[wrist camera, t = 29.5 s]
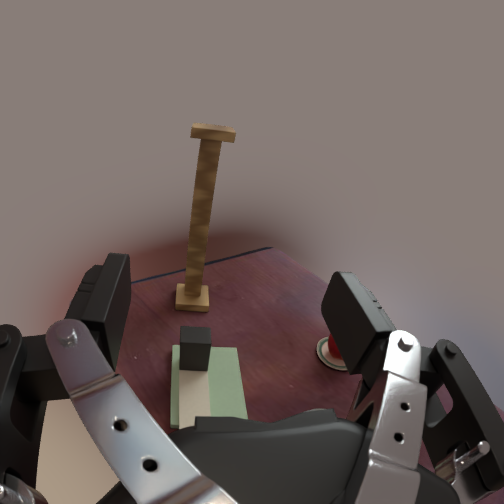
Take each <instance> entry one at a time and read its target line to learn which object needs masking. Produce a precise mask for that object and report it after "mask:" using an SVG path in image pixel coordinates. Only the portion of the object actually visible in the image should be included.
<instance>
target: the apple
mask: <svg viewBox="0 0 504 504" xmlns="http://www.w3.org/2000/svg"><path fill="white" fill-rule="evenodd" d="M317 353H318V356H319V358H320V359H321V360H322V361H323V362H324V363H325V364H326V365H328V366H329V367H331V368H334V369H337V370H347V368H346V366H345V363H344V361H343V359H342V357H341V354H340V352H339V350H338V348H337V346H336V344H335V341H334V339H333V337H332V335H331V334H330V336H329V337H326V338H323V339H322V340H320V341H319V343H318V345H317Z"/></svg>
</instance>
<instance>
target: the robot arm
mask: <svg viewBox="0 0 504 504" xmlns="http://www.w3.org/2000/svg"><path fill="white" fill-rule="evenodd" d="M130 301H131V278H130V257H129V255H128V254H119V253H109V254H108V256H107V258H106V260H105V263H104V265H103V266H102V265H94V266H93V267H92V268H91V269H90V270H88V271H87V272H86V273H85V275H84V277H83V279H82V281H81V284H80V285H79V288H78V291H77V292H76V294H75V296H74V298H73V300H72V302H71V305H70V307H69V309H68V311H67V314H66V316H65V318H64V319H63V320H60V321H57V322H56V323H54V324H53V325H51V326H50V328H49V329H48V331H47V332H46V334H44V335H38V336H27V337H22V335H21V333H20V331H19V329H18V328H16V327H15V326H13V325H8V324H4V325H0V504H48V502H47V500H46V499H45V498H44V496H43V495H42V494H41V493H40V492H38V491H37V490H36V476H37V464H38V456H39V447H40V441H41V434H42V427H43V421H44V416H45V410H46V406H47V401H49V400H61V399H71V401H72V403H73V405H74V407H75V409H76V411H77V413H78V415H79V417H80V418H81V420H82V422H83V424H84V426H85V427H86V429H87V431H88V432H89V434H90V436H91V437H92V439H93V441H94V442H95V444H96V446H97V447H98V449H99V450H100V452H101V453H102V455H103V456H104V458H105V460H106V461H107V463H108V464H109V466H110V467H111V468H112V470H113V471H114V473H115V474H116V475H117V477H118V478H119V480H120V481H119V482H118V483H117V484H116V485H115V486H114V487H113V488H112V489H111V490H110V491H109V492H108V493H107V494H106V495H105V496H104V497H103V498H102V499H101V500H100V501H99V502H97V503H96V504H474V503H476V502H478V501H480V500H482V499H484V498H486V497H487V496H489V495H491V494H493V493H494V492H496V491H498V490H499V489H501V488H502V487H504V423H503V421H502V419H501V417H500V415H499V413H498V411H497V410H496V408H495V406H494V404H493V402H492V401H491V399H490V397H489V395H488V394H487V392H486V390H485V389H484V387H483V385H482V383H481V382H480V380H479V379H478V377H477V375H476V374H475V372H474V370H473V369H472V367H471V366H470V364H469V363H468V361H467V359H466V358H465V356H464V355H463V353H462V352H461V350H460V349H459V348H458V347H457V346H456V345H455V344H454V343H453V342H451V341H449V340H445V339H441V340H439V341H438V342H437V343H436V345H435V346H434V348H427V347H421V345H420V343H419V341H418V340H417V339H416V338H415V337H414V336H413V335H411V334H410V333H408V332H405V331H401V330H397V329H396V328H395V326H394V325H393V323H392V322H391V320H390V319H389V317H388V316H387V314H386V313H385V311H384V310H383V309H382V307H381V305H380V304H379V302H377V300H376V298H375V297H374V295H373V294H372V292H371V291H369V290H368V289H367V288H366V287H365V286H363V285H362V284H361V283H360V281H359V280H358V278H357V277H356V276H355V274H354V273H352V272H335V273H334V274H333V275H332V278H331V280H330V283H329V285H328V288H327V290H326V293H325V295H324V298H323V301H322V305H321V311H322V315H323V318H324V320H325V322H326V324H327V326H328V328H329V331H330V333H331V335H332V337H333V339H334V341H335V344H336V346H337V348H338V350H339V352H340V354H341V357H342V359H343V361H344V363H345V366H346V368H347V370H348V372H349V374H350V375H354V374H362V376H363V377H362V378H361V380H360V381H359V384H358V387H357V390H356V393H355V396H354V399H353V402H352V404H351V407H350V410H349V413H348V415H347V417H346V419H343V418H337V417H336V414H335V412H334V409H333V408H332V409H325V410H318V411H309V412H302V413H299V414H297V415H294V416H291V417H288V418H285V419H282V420H279V421H276V422H273V423H266V422H259V421H253V420H248V419H242V418H237V417H232V416H230V417H212V416H195V423H194V426H189V427H185V428H182V429H179V430H177V431H174V432H172V433H170V434H168V435H167V434H166V433H165V432H164V431H163V429H162V428H161V427H160V426H159V425H158V423H157V422H156V421H155V420H154V418H153V417H152V416H151V415H150V413H149V412H148V411H147V409H146V408H145V407H144V405H143V404H142V403H141V402H140V400H139V399H138V397H137V396H136V395H135V393H134V392H133V391H132V389H131V388H130V386H129V385H128V384H127V382H126V381H125V379H124V378H123V377H122V376H121V375H120V374H117V375H116V374H115V373H114V372H115V369H116V364H117V359H118V354H119V350H120V345H121V340H122V336H123V331H124V327H125V323H126V318H127V314H128V310H129V306H130ZM443 384H445V386H446V388H447V390H448V391H449V393H450V395H451V397H452V399H453V408H452V410H451V411H450V412H449V413H448V414H446V412H445V410H444V408H443V406H442V404H441V402H440V400H439V398H438V396H437V394H436V392H437V390H438V389H439V388H440V387H441V386H442V385H443ZM422 439H423V442H424V444H425V447H426V449H427V452H428V454H429V457H430V459H431V462H432V464H433V467H434V470H435V474H434V473H433V472H431V471H429V470H428V469H426V468H425V467H423V466H421V465H420V464H418V458H419V452H420V447H421V440H422Z"/></svg>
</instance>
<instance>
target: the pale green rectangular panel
mask: <svg viewBox="0 0 504 504" xmlns="http://www.w3.org/2000/svg"><path fill="white" fill-rule="evenodd" d="M179 357H180V345H173V350H172V373H171V416H170V425H171V428H177V429H179ZM208 385H209V399H210V412H211V416H212V417H230V416H232V417H237V418H242V419H248V417H247V412H246V405H245V399H244V393H243V387H242V381H241V374H240V368H239V361H238V355H237V348H221V347H211V351H210V358H209V365H208Z"/></svg>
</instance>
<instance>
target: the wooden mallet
mask: <svg viewBox="0 0 504 504" xmlns="http://www.w3.org/2000/svg"><path fill="white" fill-rule="evenodd" d="M210 351H211V329H210V328H206V327H190V326H181V328H180V357H179V429H182V428H185V427H189V426H194V423H195V416H211V412H210V399H209V385H208V365H209V358H210Z"/></svg>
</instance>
